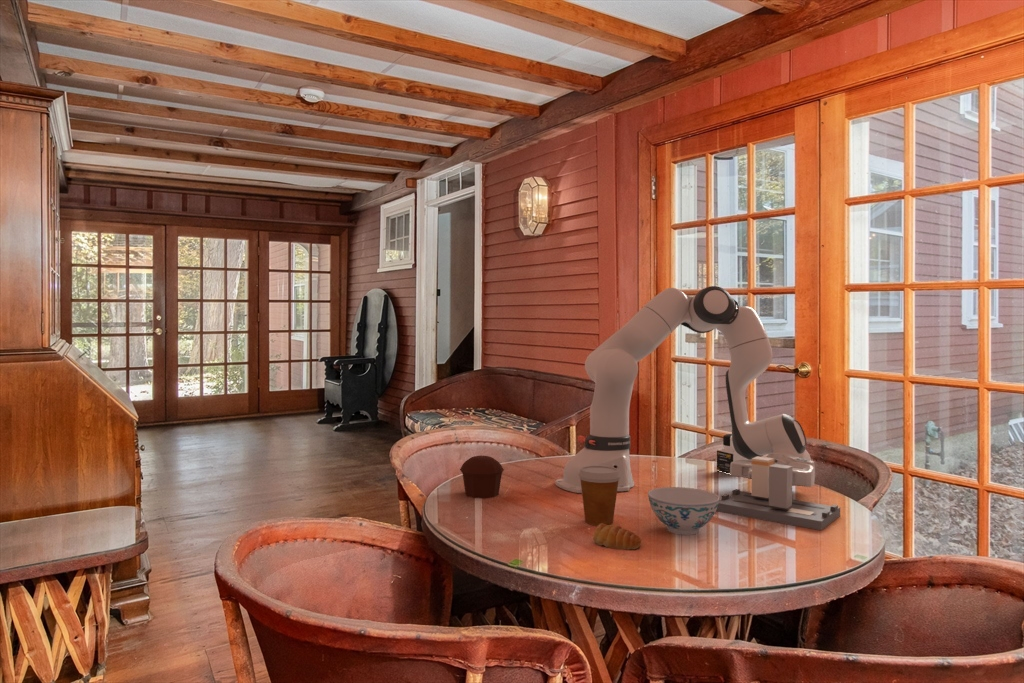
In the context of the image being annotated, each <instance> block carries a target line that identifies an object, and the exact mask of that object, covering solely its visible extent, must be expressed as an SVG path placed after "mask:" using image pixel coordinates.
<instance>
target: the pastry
mask: <svg viewBox="0 0 1024 683" xmlns="http://www.w3.org/2000/svg"><path fill="white" fill-rule="evenodd" d="M592 539H593V540H592V541H593V542H594V543H596V544H597V545H598V546H601V547H602V546H605V547H606V548H609V549H615V550H616V549H617V550H625V551H628V550H636V549H639V547H641V545H642V541H643V540H642V538H641V537H640V536H639V535H637V534H636V533H634V531H630V530H629V529H626V528H623V527H622V526H621V525H614V524H611V525H606V524H603V523H601V524H599V525H598V526H597V527H596V528H595V530H594V534H593V538H592Z"/></svg>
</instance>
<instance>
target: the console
mask: <svg viewBox="0 0 1024 683" xmlns="http://www.w3.org/2000/svg"><path fill="white" fill-rule="evenodd" d="M720 498H721V499H719V503H718V507H717V510H716V512H719V513H726V514H731V515H737V516H742V517H748V518H751V519H756V520H757V519H758V520H763V521H768V522H773V523H780V524H785V525H790V526H795V527H799V528H806V529H812V530H816V531H823V530H824V529H826V528H827V527H828V526H829V525H830V524H832V523H833V522H834V521H836V520H837V519H838V518H839V517H840V516H841V507H840V506H838V505H837V504H831V505H828V504H822V503H816V502H812V501H811V502H810V501H804V500H799V499H797V500H796V499H793V498H792V506H791V509H789V510H782V509H776V508H770V506H769V500H766V499H760V498H754V497H753V496H751V492H749V491H741V489H740V488H739V489H736V488H735V489H733V490H732V492H731V494H728V493H724V494H722V495H721V497H720Z"/></svg>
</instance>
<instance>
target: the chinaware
mask: <svg viewBox="0 0 1024 683" xmlns="http://www.w3.org/2000/svg"><path fill="white" fill-rule="evenodd" d="M647 495H648V496H647V497H648V501H649V504H650V507H651V509H652V512H653V514H655V516H656V517H657V519H658V520H659V521H660V522H662V523H663V524H664V525H665V526H666V530H667V531H668V532H670V533H673V534H677V535H685V536H686V535H687V536H690V535H697V534H698V533H699V532H700V528H702V527H704V526H705V525H707V524H708V523H709V522H710V521H711V520H712V519H713V517H714V516H715V514H716V512H717V511H716V510H717V507H718V503H719V501H720V496H719V495H718V494H716V493H714V492H712V491H708V490H705V489H701V488H700V489H699V488H693V487H692V488H691V487H685V486H684V487H683V486H681V487H680V486H677V487H676V486H667V487H665V486H663V487H656V488H653V489H651V490H648V492H647Z"/></svg>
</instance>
